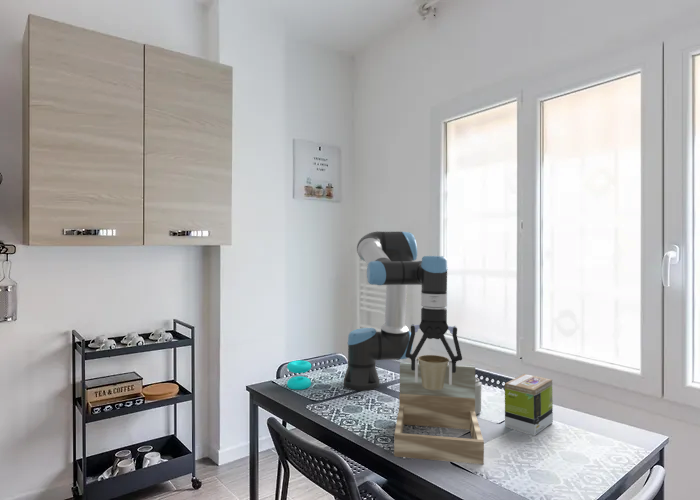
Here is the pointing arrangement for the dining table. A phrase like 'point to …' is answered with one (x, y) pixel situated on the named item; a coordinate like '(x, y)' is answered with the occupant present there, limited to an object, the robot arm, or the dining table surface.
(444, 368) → the flower pot
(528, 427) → the tea box
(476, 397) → the can
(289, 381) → the donuts
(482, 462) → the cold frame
